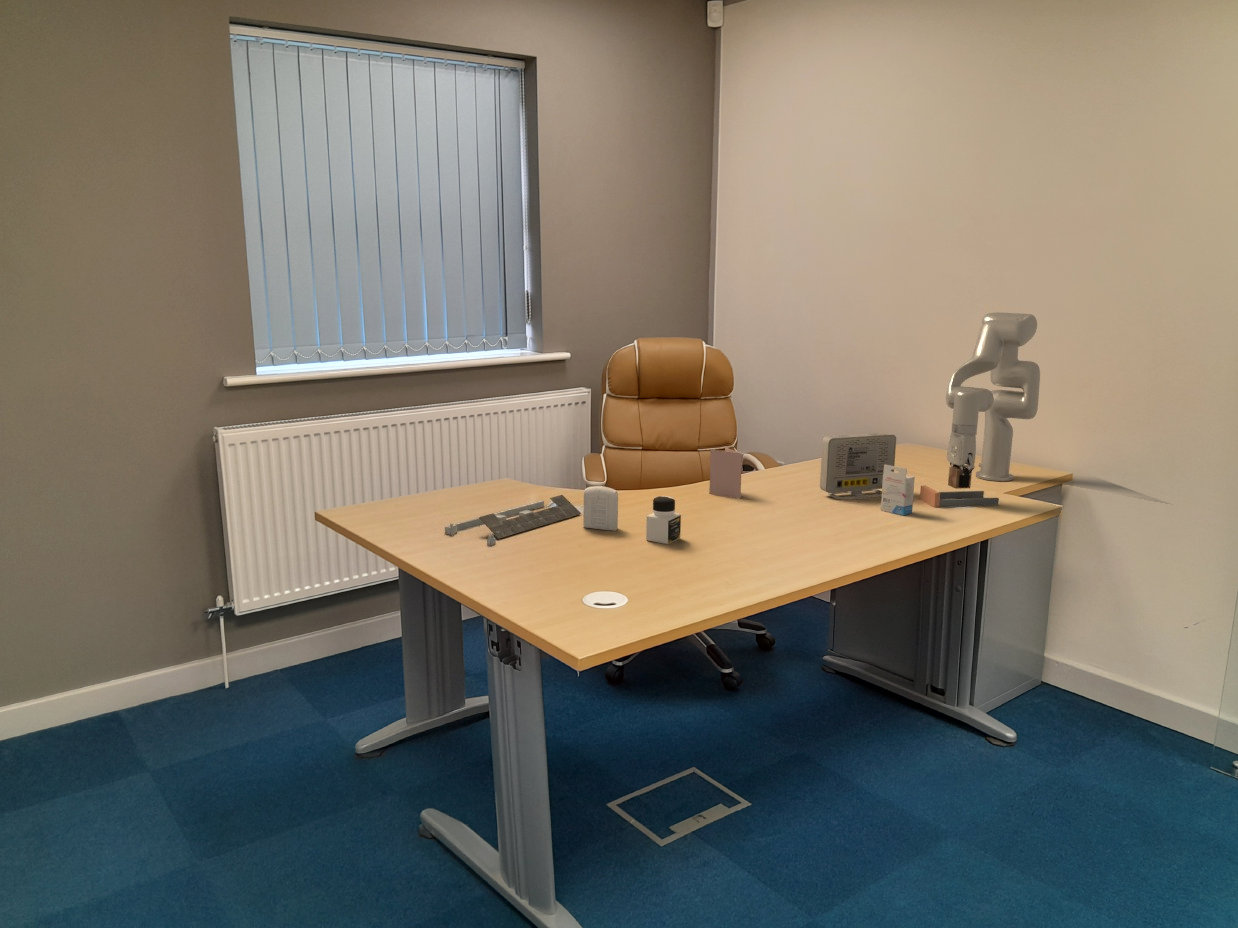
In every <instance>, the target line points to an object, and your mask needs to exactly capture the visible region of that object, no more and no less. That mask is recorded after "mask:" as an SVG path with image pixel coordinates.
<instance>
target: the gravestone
mask: <svg viewBox="0 0 1238 928" xmlns="http://www.w3.org/2000/svg"><path fill="white" fill-rule="evenodd" d="M583 506H584V515H583V523H582V524H583V528H585V529H587V528H588V529H594V530H595V529H597V530H603V531H604V530H605V531H617V530H618V524H619V521H618V520H619V493H618V491H617V490H616V489H614V488H611V487H608V486H604V485H603V486H601V485H598V486H597V485H596V486H589V487H586V488H585V489H584V492H583Z"/></svg>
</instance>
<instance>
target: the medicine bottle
mask: <svg viewBox="0 0 1238 928" xmlns="http://www.w3.org/2000/svg"><path fill="white" fill-rule="evenodd" d="M675 509H676V499H675V498H673V497H671V496H668V495H667V496H666V495H660V496H656V497H654V498H653V499H652V513H650V514H648V515H647V516H646V528H645V529H646V530H645V531H646V533H645V535H646V537H645V539H646V541H649V542H654V543H658V544H659V543H660V544H664V545H670V544H672V543H673V542H676V541H677V540H679V539H680V538H681V531H682V530H681V527H682V526H681V525H682V524H681V523H682V518H681V517H682V514H681V513H677V512H676V510H675Z"/></svg>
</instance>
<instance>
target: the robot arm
mask: <svg viewBox="0 0 1238 928" xmlns="http://www.w3.org/2000/svg"><path fill="white" fill-rule="evenodd" d="M981 324H982V325H981V326H980V328H979V333H978V335H977V339H976V342H975V345H974V349H973V351H972V356H971V358H970V359H969V360H967V361H966V362H964V363H963V364H962V365H960V366H959V367H958V368H957V369H956V370H955V371H954V372H953V374H952V375H951V377H950V380H949V384H948V387H947V390H946V395H945V403H946V405H947V407H948V408H950V409H951V410H952V409H953V410H952V421H951V422H952V423H951V432H950V435H949V436H950V437H949V439H948V440H949V441H948V444H947V445H948V446H947V450H946V451H947V453H946V460H947V462H949V465H950V466H949V467H961V475H960V477H959V487H960V488H961V487H969V480H970V475H971V472H972V473H973V471H974V469H975V468H976V467H975V462H976V452H977V451H976V450H977V440H976V439H977V437H976V436H977V433H978V423H979V413H983V412H984V428H983V429H984V430H983V431H984V432H983V441H982V452H981V462H979V463H978V464H977V465H978V467H979V468H980V470H979V471H976V472H975V477H976V478H979V479H982V480H986V481H994V482H1008V481H1009V482H1010V481H1012V480H1013V479H1014V475H1013V474H1012V473H1010V465H1011V456H1012V446H1013V436H1014V430H1013V429H1014V428H1013V426H1012V424H1011V422H1010V421H1009V419H1018V420H1032V419H1034V418H1035V417H1036V416H1037V412H1038V407H1039V396H1040V385H1041V383H1040V382H1041V370H1040V367H1039V365H1038V363H1036V362H1035V361H1030V360H1019V348H1020V347H1023V346H1025V345H1026V344H1027V343H1028V342H1030V340H1032V339H1033V337H1034V336H1035V334H1036V333H1037V328H1038V319H1037V318H1036V316H1035V315H1033V314H1031V313H1016V312H990V313H986V314H984V316H983V317H982V319H981ZM987 372H990V375H989V377H990V382H991V383H992V385H994V386H996V387H1001V388H1002V387H1003V388H1015V389H1022V391H1019V390H1016V391H1015V390H1006V389H994V390H989V389H987V388H984V387H981V388H980V387H971V386H962V385H963V383H964V382H965V381H967V380H969V379H970V378H973V377H975V376H977V375H978V376H979V375H980V374H985V373H987ZM964 467H966V469H965V470H964ZM971 476H972V475H971ZM961 489H962V488H961Z"/></svg>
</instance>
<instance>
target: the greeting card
mask: <svg viewBox="0 0 1238 928" xmlns="http://www.w3.org/2000/svg"><path fill="white" fill-rule="evenodd" d="M709 455H710V456H709V457H710V458H709V459H710V460H709V461H710V462H709V491H708V492H709V493H708V494H709V495H715V496H720V497H725V498H726V497H727V498H734V499H741V495H742V493H741V492H742V467H743V453H741V452H739V451H736V450H733V449H731V448H728V447H726V446H725V447H724V451H723V450H717V449H716V450H715V449H710V454H709Z"/></svg>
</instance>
